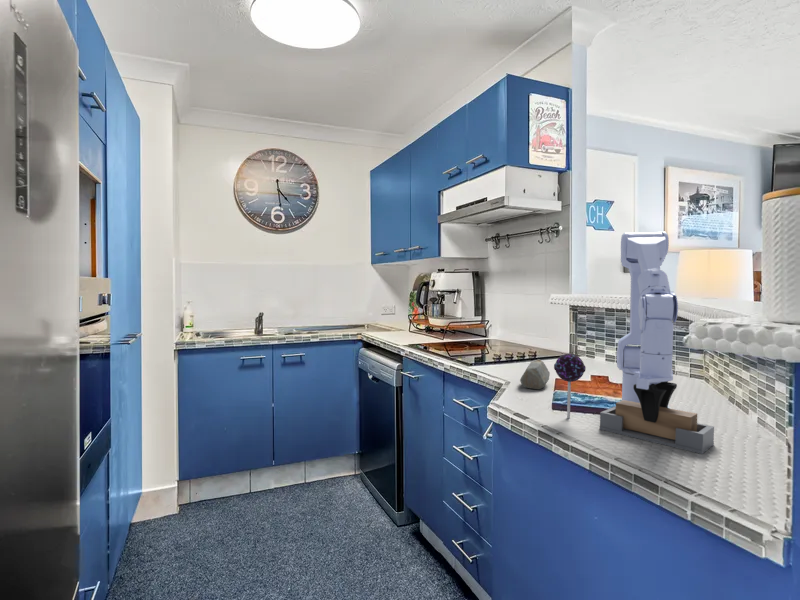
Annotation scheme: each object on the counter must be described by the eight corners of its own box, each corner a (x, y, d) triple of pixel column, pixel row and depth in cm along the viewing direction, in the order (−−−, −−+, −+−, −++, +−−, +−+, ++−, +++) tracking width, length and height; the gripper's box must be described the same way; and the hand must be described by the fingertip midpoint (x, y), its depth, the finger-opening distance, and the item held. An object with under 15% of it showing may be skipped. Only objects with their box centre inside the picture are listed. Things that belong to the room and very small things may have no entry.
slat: (623, 422, 100) (623, 399, 100) (696, 438, 90) (697, 413, 90) (615, 426, 97) (615, 403, 97) (690, 443, 87) (690, 417, 87)
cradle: (614, 422, 103) (614, 406, 103) (713, 444, 89) (714, 426, 89) (599, 429, 98) (599, 412, 98) (702, 453, 84) (702, 434, 84)
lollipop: (547, 417, 106) (548, 353, 106) (561, 412, 111) (562, 350, 111) (576, 424, 102) (577, 357, 101) (589, 418, 106) (590, 353, 106)
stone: (545, 391, 133) (546, 365, 133) (517, 388, 136) (517, 362, 136) (551, 383, 144) (552, 359, 144) (525, 381, 148) (526, 357, 147)
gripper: (648, 347, 101) (646, 408, 101) (621, 353, 91) (619, 421, 92) (684, 351, 96) (682, 415, 96) (659, 358, 86) (657, 429, 86)
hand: (654, 419), depth 94 cm, fingers closed on slat, 4 cm apart
